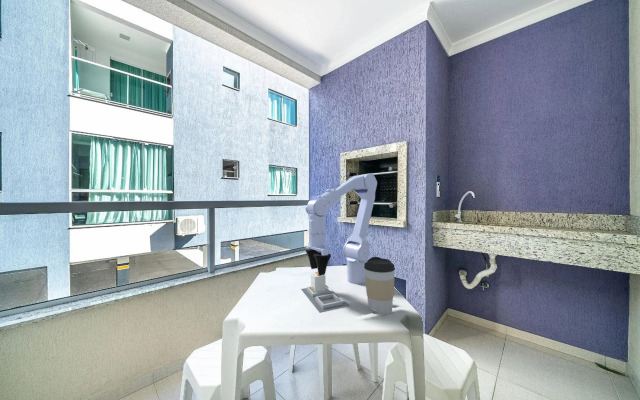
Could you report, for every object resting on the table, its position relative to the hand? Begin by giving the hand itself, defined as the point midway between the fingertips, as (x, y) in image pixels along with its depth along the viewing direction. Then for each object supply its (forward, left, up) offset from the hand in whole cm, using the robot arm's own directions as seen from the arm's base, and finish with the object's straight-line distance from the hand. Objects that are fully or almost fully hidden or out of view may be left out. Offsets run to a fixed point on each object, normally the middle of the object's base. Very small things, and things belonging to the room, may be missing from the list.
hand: (317, 271), depth 78 cm
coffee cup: (-13, +18, -8) cm, 24 cm away
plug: (0, 0, -7) cm, 7 cm away
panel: (0, +4, -8) cm, 9 cm away
